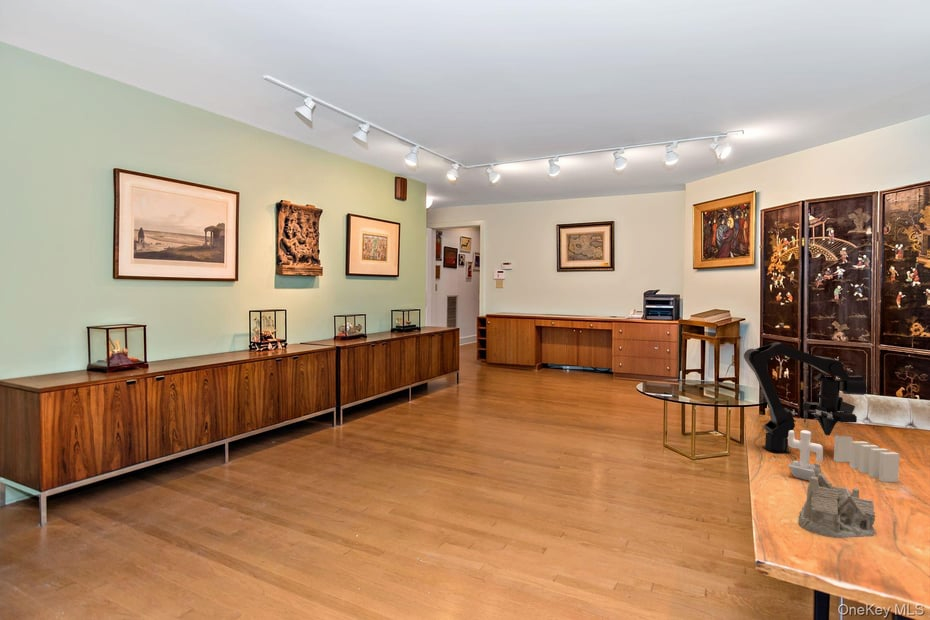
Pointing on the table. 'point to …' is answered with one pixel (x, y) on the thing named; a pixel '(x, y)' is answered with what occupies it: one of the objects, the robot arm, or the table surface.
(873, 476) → the domino
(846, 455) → the domino
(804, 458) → the figurine
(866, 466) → the domino
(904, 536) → the table surface
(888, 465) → the domino
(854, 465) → the domino
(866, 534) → the ceramic cottage
